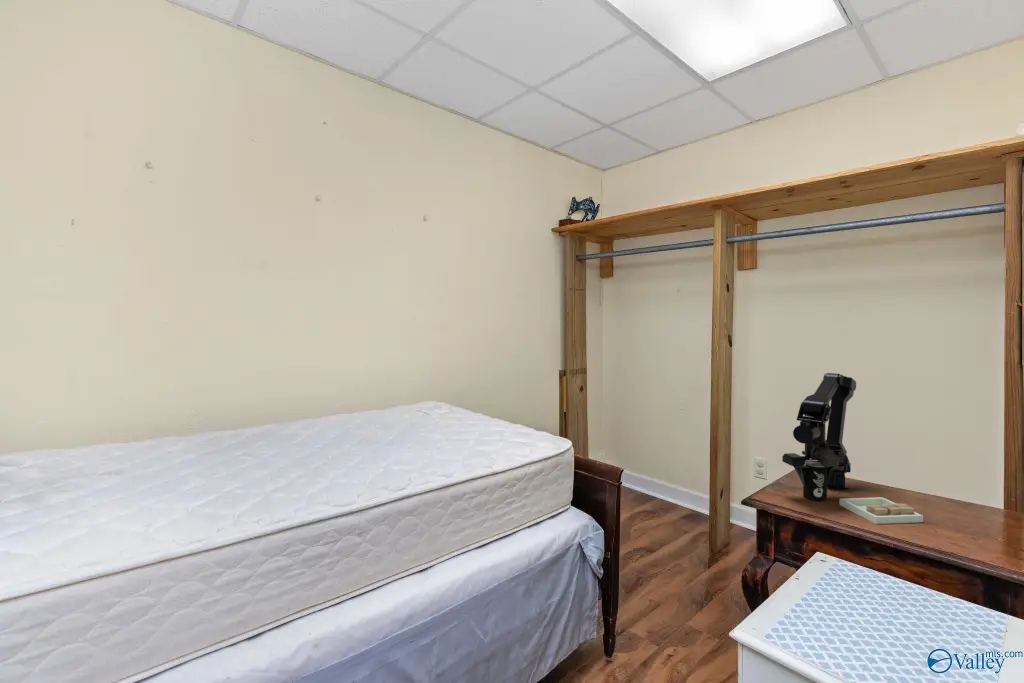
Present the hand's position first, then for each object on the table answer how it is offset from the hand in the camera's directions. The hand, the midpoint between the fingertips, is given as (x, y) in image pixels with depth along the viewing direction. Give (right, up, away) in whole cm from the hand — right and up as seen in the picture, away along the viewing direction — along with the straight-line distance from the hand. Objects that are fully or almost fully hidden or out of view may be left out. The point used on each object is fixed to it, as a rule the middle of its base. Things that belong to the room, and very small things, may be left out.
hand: (814, 484), depth 153 cm
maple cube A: (+8, -5, -16) cm, 19 cm away
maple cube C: (+16, -5, -16) cm, 23 cm away
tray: (+11, -5, -12) cm, 18 cm away
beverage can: (0, -5, 0) cm, 5 cm away
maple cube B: (+12, -5, -16) cm, 20 cm away
